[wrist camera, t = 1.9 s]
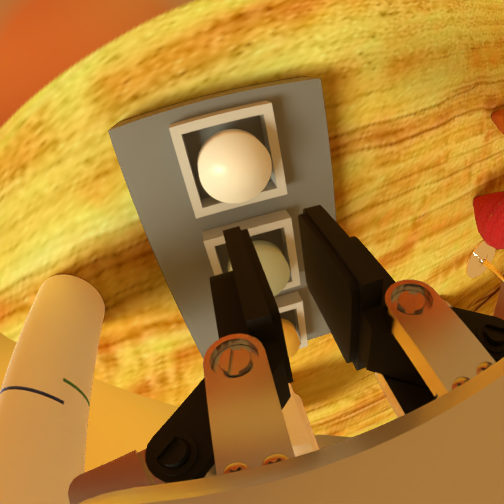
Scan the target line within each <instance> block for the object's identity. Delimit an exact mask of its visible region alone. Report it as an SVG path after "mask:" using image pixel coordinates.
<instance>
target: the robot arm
mask: <svg viewBox="0 0 504 504" xmlns="http://www.w3.org/2000/svg"><path fill="white" fill-rule="evenodd" d="M298 222H299V230H300V237H301V245H302V253H303V261H304V269H305V278H306V283H307V286H308V289H309V291H310V293H311V295H312V297H313V299H314V301H315V302H316V304H317V306H318V308H319V310H320V312H321V314H322V316H323V318H324V320H325V322H326V324H327V326H328V328H329V329H330V331H331V333H332V335H333V337H334V339H335V341H336V343H337V345H338V347H339V349H340V351H341V353H342V355H343V357H344V359H345V361H346V362H347V363H350V362H353V364H354V366H355V368H356V370H360V369H362V368H365V367H366V369H367V370H369V371H372V372H374V373H375V376H376V379H377V381H378V382H379V384H380V386H381V388H382V389H383V391H384V393H385V395H386V397H387V398H388V400H389V402H390V404H391V405H392V407H393V409H394V411H395V413H396V414H397V416H398V418H397V419H395V420H393V421H391V422H388V423H386V424H384V425H382V426H379V427H377V428H375V429H372V430H370V431H367V432H365V433H362V434H360V435H357V436H355V437H352V438H350V439H347V440H344V441H342V442H339V443H336V444H334V445H331V446H328V447H325V448H322V449H319V450H316V451H313V452H310V453H306V454H303V455H300V456H297V457H295V454H294V451H293V448H292V444H291V441H290V437H289V434H288V430H287V427H286V423H285V420H284V416H283V412H282V409H283V408H284V406H285V405H286V403H287V402H288V400H289V399H290V397H291V394H290V389H289V385H288V383H291V382H293V378H292V373H291V368H290V362H289V357H288V352H287V347H286V341H285V336H284V331H283V326H282V321H281V316H280V313H279V309H278V306H277V303H276V301H275V298H274V296H273V293H272V290H271V288H270V285H269V283H268V280H267V278H266V275H265V272H264V270H263V267H262V265H261V262H260V260H259V257H258V255H257V252H256V249H255V247H254V244H253V242H252V239H251V237H250V234H249V231H248V229H243V230H241V229H240V226H237V227H233V228H230V229H226V230H223V234H224V238H225V242H226V246H227V250H228V254H229V258H230V262H231V266H232V270H233V271H229V272H226V273H222V274H219V275H215V276H211V277H210V278H209V279H210V287H211V293H212V299H213V306H214V312H215V318H216V324H217V330H218V336H219V340H217V341H216V342H214V343H213V344H212V345H211V346H210V347H209V348H208V349H207V352H206V354H205V356H204V361H203V368H204V379H203V380H202V381H201V382H200V383H199V385H198V386H197V387H196V388H195V389H194V390H193V392H192V393H191V394H190V395H189V396H188V397H187V399H186V400H185V401H184V402H183V403H182V404H181V406H180V407H179V408H178V409H177V410H176V411H175V412H174V414H173V415H172V416H171V417H170V418H169V419H168V421H167V422H166V423H165V424H164V425H163V426H162V427H161V428H160V430H159V431H158V432H157V433H156V434H155V435H154V436H153V438H152V439H151V440H150V442H149V443H148V445H147V448H146V449H145V450H143V451H140V452H137V451H136V450H134V451H132V452H130V453H128V454H126V455H124V456H121V457H119V458H117V459H115V460H113V461H111V462H108V463H106V464H104V465H102V466H99V467H97V468H95V469H93V470H90V471H88V472H85V473H83V474H80V475H79V476H77V477H76V478H74V479H73V481H72V482H71V484H70V486H69V490H68V497H69V502H70V504H504V320H502V319H500V318H497V317H494V316H489V315H485V314H480V313H476V312H472V311H467V310H463V309H459V308H454V307H452V305H451V304H450V303H449V302H448V301H446V300H443V299H442V298H441V297H440V296H439V294H438V293H437V292H436V291H435V290H434V289H433V288H432V287H430V286H429V285H428V284H426V283H424V282H421V281H417V280H402V281H398V282H395V281H394V280H393V279H392V277H391V276H390V275H389V274H388V273H387V272H386V270H385V269H384V268H383V267H382V266H381V264H380V263H379V262H378V261H377V260H376V259H375V257H374V256H373V255H372V254H371V253H370V252H369V251H368V249H367V248H366V247H365V246H364V245H363V244H362V243H361V241H360V240H359V239H358V238H356V237H354V236H353V237H349V236H348V235H347V234H346V233H345V232H344V230H343V229H342V228H341V227H340V226H339V225H338V224H337V222H336V221H335V220H334V219H333V218H332V217H331V216H330V215H329V213H328V212H327V211H326V210H325V209H324V208H323V207H322V206H321V205H316V206H312V207H309V208H305V209H303V214H299V215H298Z"/></svg>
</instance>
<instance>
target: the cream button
mask: <svg viewBox="0 0 504 504" xmlns="http://www.w3.org/2000/svg"><path fill="white" fill-rule="evenodd" d="M197 165H198V173H199V178H200V182H201V184H202V186H203V188H204V189H205V191H206V192H207V193H208V194H209V195H210V196H212V197H213V198H215V199H216V200H219V201H221V202H225V203H241V202H245V201H248V200H250V199H252V198H254V197H255V196H257V195H258V194H259V193H260V192H261V191H262V190H263V189H264V188H265V187H266V185H267V183H268V181H269V179H270V176H271V171H272V162H271V158H270V155H269V152H268V151H267V149H266V148H265V146H264V145H263V144H262V143H261V142H260V141H259V140H258V139H257V138H256V137H255V136H253V135H252V134H251V133H249V132H247V131H244V130H240V129H225V130H222V131H219V132H217V133H215V134H213V135H212V136H211V137H209V138H208V139H207V140H206V141H205V142H204V144H203V145H202V147H201V149H200V151H199V154H198V160H197Z"/></svg>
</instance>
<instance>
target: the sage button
mask: <svg viewBox="0 0 504 504" xmlns="http://www.w3.org/2000/svg"><path fill="white" fill-rule="evenodd" d="M252 242H253V244H254V247H255V249H256V252H257V255H258V257H259V260H260V262H261V265H262V267H263V270H264V272H265V275H266V278H267V280H268V283H269V285H270V288H271V290H272V293H273V296H276V295H277V294H279V293H280V292H281V291H282V290H283V289H284V288H285V286H286V285H287V283H288V281H289V277H290V269H289V266H288V263H287V261H286V259H285V257H284V256H283V254H282V252H281V250H280V249H279V248H278V247H277V246H276V245H275V244H273V243H271V242H268V241H264V240H255V241H252ZM227 268H228V272H229V271H233V270H232V266H231V262H230V258H229V261H228V266H227Z"/></svg>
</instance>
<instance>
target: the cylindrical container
mask: <svg viewBox="0 0 504 504" xmlns="http://www.w3.org/2000/svg"><path fill="white" fill-rule="evenodd" d="M104 314H105V305H104V301H103V299H102V297H101V295H100V294H99V292H98V291H97V290H96V289H95V288H94V287H93V286H92V285H91V284H90V283H88V282H86V281H85V280H83V279H81V278H79V277H76V276H73V275H66V274H60V275H54V276H51V277H49V278H48V279H46V280H45V281H44V282H43V284H42V285H41V287H40V289H39V291H38V293H37V296H36V298H35V300H34V302H33V304H32V307H31V309H30V311H29V314H28V316H27V318H26V321H25V323H24V326H23V328H22V331H21V333H20V336H19V338H18V341H17V343H16V346H15V349H14V351H13V354H12V357H11V360H10V363H9V366H8V369H7V372H6V375H5V378H4V381H3V384H2V387H1V391H0V504H70V502H69V497H68V490H69V486H70V484H71V482H72V481H73V479H74V478H76V477H77V476H79V475H80V474H83V473H84V467H85V466H84V465H85V449H86V436H87V425H88V415H89V405H90V398H91V390H92V382H93V376H94V369H95V363H96V356H97V351H98V345H99V339H100V334H101V329H102V324H103V319H104Z"/></svg>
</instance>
